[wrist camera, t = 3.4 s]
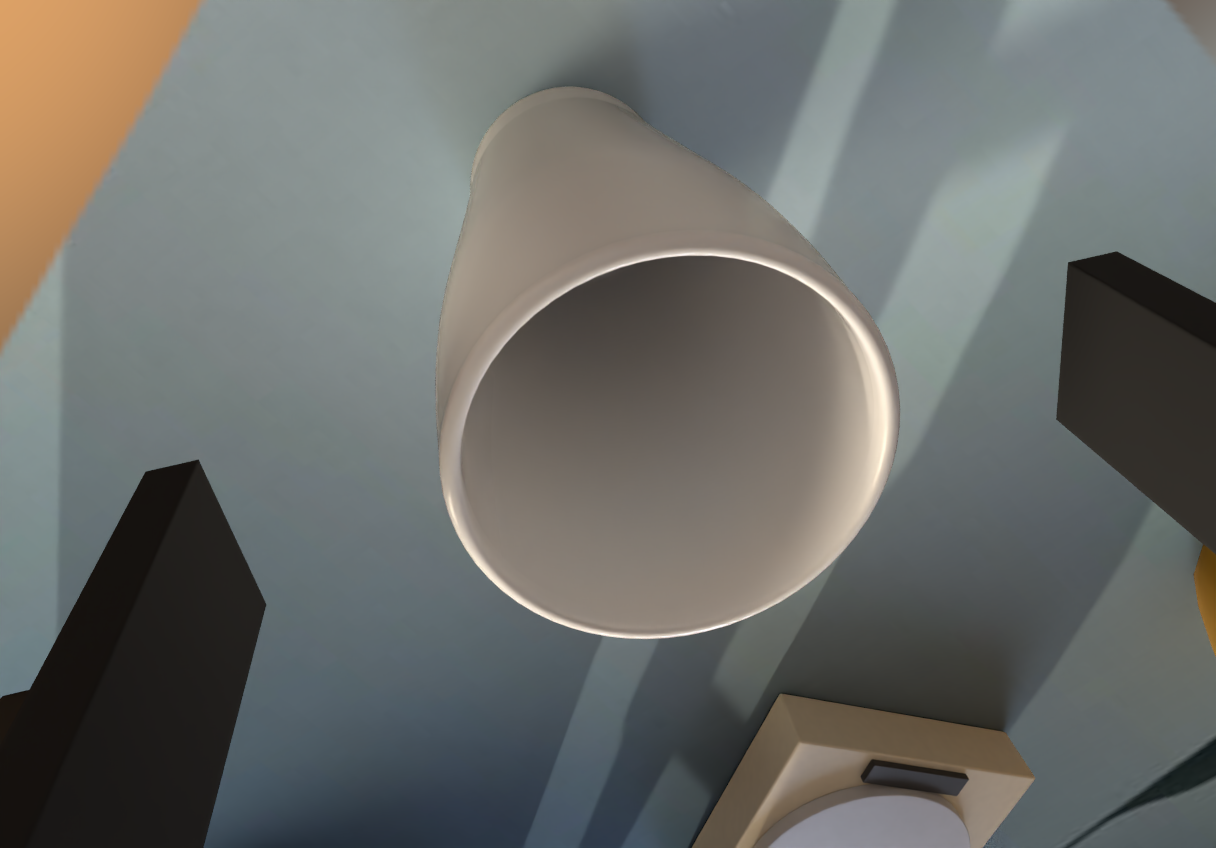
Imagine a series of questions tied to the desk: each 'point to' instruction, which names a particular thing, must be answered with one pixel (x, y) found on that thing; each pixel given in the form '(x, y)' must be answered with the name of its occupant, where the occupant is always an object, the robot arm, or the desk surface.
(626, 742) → the desk surface
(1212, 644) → the apple
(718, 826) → the scale
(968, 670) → the desk surface
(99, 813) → the robot arm
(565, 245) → the drinking glass
